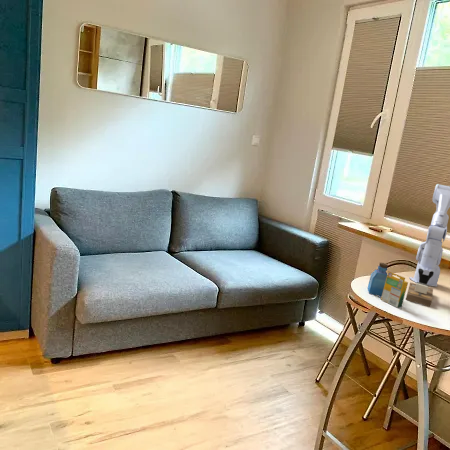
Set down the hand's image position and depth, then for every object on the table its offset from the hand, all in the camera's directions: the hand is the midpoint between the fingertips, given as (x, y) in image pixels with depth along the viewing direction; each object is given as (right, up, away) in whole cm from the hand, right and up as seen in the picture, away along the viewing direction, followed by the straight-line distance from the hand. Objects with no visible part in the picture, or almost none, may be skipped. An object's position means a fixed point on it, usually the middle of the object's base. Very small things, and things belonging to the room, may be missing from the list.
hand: (421, 287), depth 184 cm
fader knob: (-1, -1, -2) cm, 3 cm away
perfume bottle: (-19, -2, -4) cm, 20 cm away
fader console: (-1, -4, -1) cm, 4 cm away
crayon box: (-17, -4, -13) cm, 22 cm away
